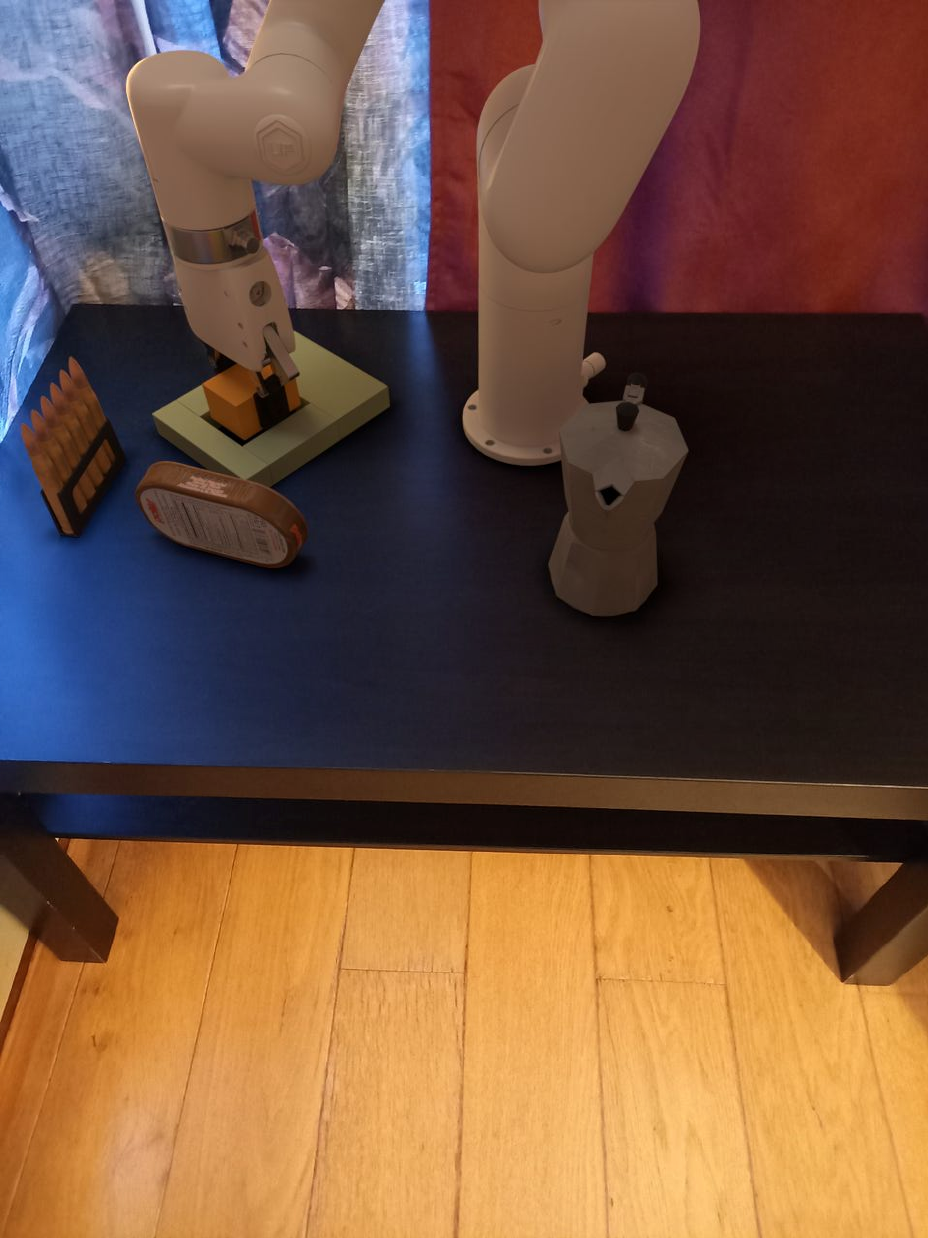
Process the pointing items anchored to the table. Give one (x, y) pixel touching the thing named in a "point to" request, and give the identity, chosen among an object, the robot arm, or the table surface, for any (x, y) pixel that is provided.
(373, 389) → the olive rectangular frame
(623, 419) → the coffeepot
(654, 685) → the table surface
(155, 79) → the robot arm
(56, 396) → the ammunition clip
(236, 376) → the ochre box
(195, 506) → the tin
